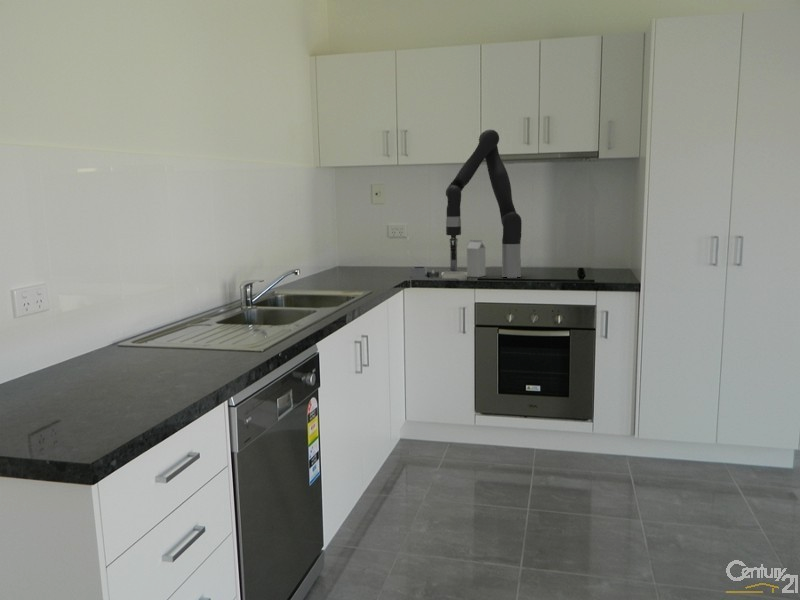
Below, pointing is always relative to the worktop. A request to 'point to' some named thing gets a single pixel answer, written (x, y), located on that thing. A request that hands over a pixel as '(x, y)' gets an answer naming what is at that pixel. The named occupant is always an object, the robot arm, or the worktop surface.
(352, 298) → the worktop surface
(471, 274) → the milk carton
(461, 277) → the tray
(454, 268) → the lock pin
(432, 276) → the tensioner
